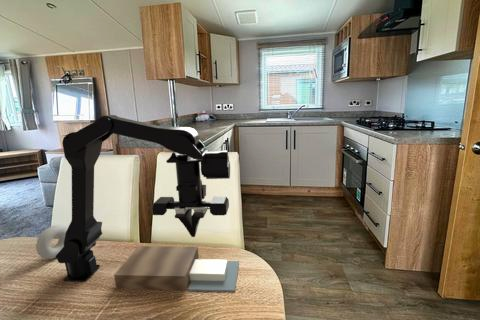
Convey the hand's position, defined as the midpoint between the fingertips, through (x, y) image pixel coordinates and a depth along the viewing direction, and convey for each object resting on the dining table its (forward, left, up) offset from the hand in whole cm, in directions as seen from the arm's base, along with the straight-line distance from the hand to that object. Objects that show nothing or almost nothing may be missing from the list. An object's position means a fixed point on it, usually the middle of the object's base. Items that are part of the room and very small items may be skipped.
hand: (193, 236), depth 67 cm
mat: (+5, -1, -11) cm, 12 cm away
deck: (-10, 0, -11) cm, 15 cm away
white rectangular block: (+4, -1, -10) cm, 11 cm away
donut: (-46, +7, -11) cm, 48 cm away
